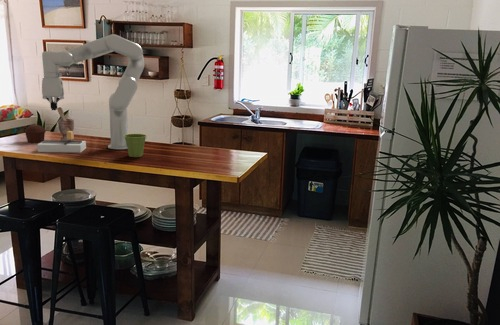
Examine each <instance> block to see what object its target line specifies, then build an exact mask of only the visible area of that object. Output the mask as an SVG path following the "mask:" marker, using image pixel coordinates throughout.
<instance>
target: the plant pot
mask: <svg viewBox="0 0 500 325" xmlns="http://www.w3.org/2000/svg"><path fill="white" fill-rule="evenodd" d="M147 136H148V135H147V134H143V133H128V134H126V135H124V137H125V140H126V144H127V149H126V150H127V153H128V157H130V158H141V157H143V155H144V148H145V142H146V138H147Z"/></svg>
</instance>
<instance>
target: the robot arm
mask: <svg viewBox="0 0 500 325" xmlns="http://www.w3.org/2000/svg"><path fill="white" fill-rule="evenodd" d="M112 52H116V53H117V54H120V55H122V56H124V57H127V58H128V64H127V66H126V68H125V71H124V72H123V74H122V76H121V78H120V79H119V80H118V86H117V87H116V89H115V91H114V92H113V93H112V94H111V95H110V96H109V99H108V107H109V108H108V110H109V128H110V129H109V131H110V132H109V134H110V144H108V145H107V147H108V149H109V150H128V149H127V144H126V140H125V137H124V135H126V134H129V133H128V109H127V108H128V107H129V105H130V104H131V102H132V100H133V98H134V96H135V95H136V93H137V90H138V81H139V80H140V77H141V76H142V73H143V71H144V68H145V59H144V52H143V48H142V47H141V45H139V43H135V42H133V41H131V40H128V39H126V38H124V37H122V36H120V35H118V34H115V33H114V34H109V35H106V36H103V37H100V38H97V39H94V40H92V41H88V42H86V43H84V44H82V45H79V46H77V47H75V48H72V49H69V50H65V51H58V52H57V51H51V50H50V51H49V50H48V51H43V52H42V54H41V58H42V70H43V77H42V81H41V95H42V99H43V100H47V101H48V103H50V105H49V106H50V109H51V111H56V110H57V108H58V102H59V101H61V100H64V99H65V90H64V84H63V80H62V79H63V78H61V77H62V76H63V74H62V73H61V72H60V66H61V67H62V66H63V67H69V66H72V65H75V64H76V63H80V62H83V61H85V60H89V59H90V60H91V59H95V58H98V57H101V56H104V55H107V54H110V53H112ZM57 111H58V110H57Z"/></svg>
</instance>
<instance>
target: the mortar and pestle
mask: <svg viewBox="0 0 500 325" xmlns="http://www.w3.org/2000/svg"><path fill="white" fill-rule="evenodd" d="M57 112H58V114H59V116H60V118H61V119H57V122H58V123H57V124H58V130H59V132H60V134H61V135H62V137H61V138H60V141H69V140H67V133H66V132H68V131H73V132H74V128H75V126H74V124H75V123H74V120H75V119H71V118H66V117H65V113H64V110H63V108H62V107H57ZM72 141H75V140H74V138H73V139H72Z"/></svg>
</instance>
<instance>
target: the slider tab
mask: <svg viewBox="0 0 500 325" xmlns="http://www.w3.org/2000/svg"><path fill="white" fill-rule="evenodd" d="M66 133H67V140H69V142H72V139H73V140H74V139H75V137H74V136H75V135H74V130H73V131H68V132H66Z"/></svg>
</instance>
